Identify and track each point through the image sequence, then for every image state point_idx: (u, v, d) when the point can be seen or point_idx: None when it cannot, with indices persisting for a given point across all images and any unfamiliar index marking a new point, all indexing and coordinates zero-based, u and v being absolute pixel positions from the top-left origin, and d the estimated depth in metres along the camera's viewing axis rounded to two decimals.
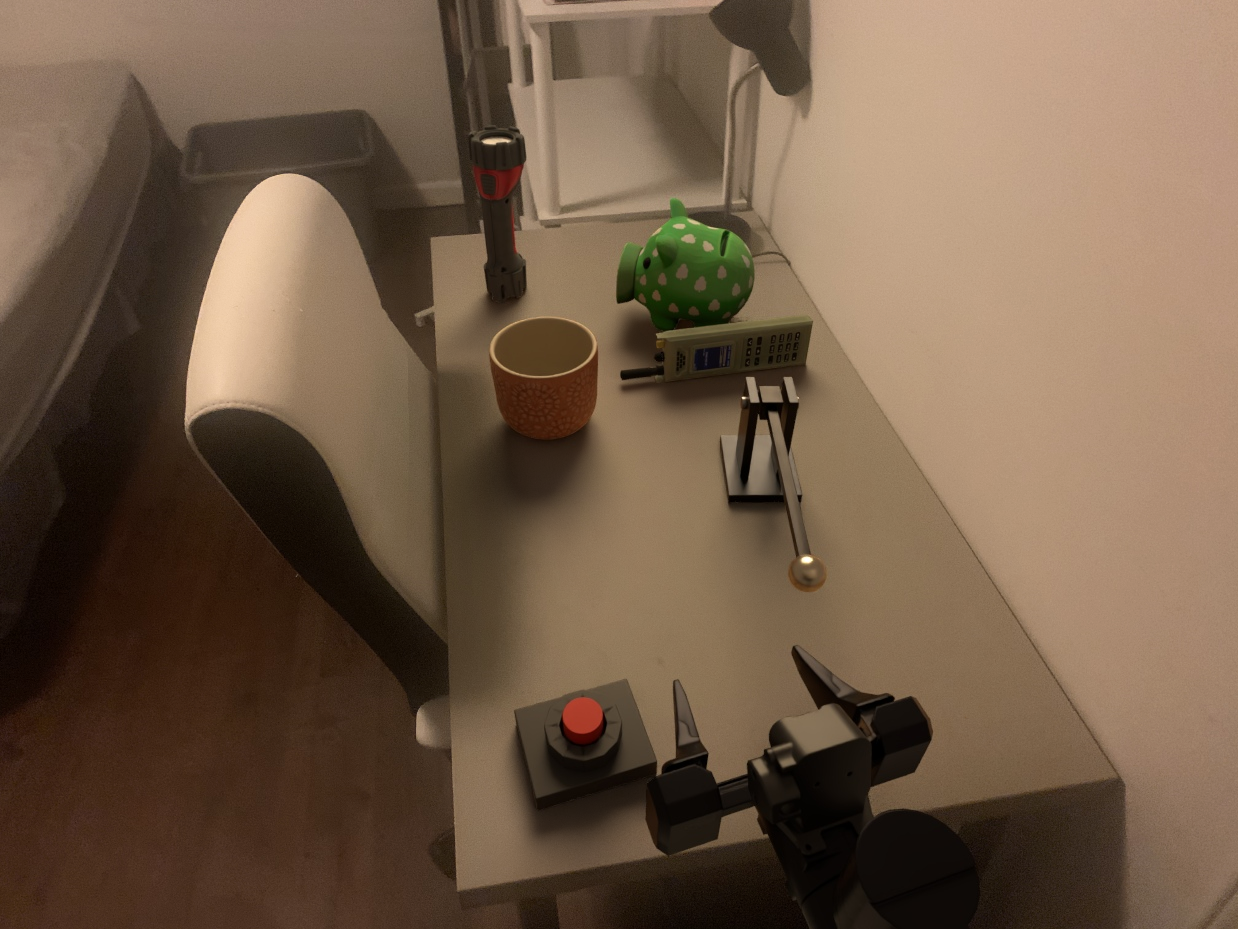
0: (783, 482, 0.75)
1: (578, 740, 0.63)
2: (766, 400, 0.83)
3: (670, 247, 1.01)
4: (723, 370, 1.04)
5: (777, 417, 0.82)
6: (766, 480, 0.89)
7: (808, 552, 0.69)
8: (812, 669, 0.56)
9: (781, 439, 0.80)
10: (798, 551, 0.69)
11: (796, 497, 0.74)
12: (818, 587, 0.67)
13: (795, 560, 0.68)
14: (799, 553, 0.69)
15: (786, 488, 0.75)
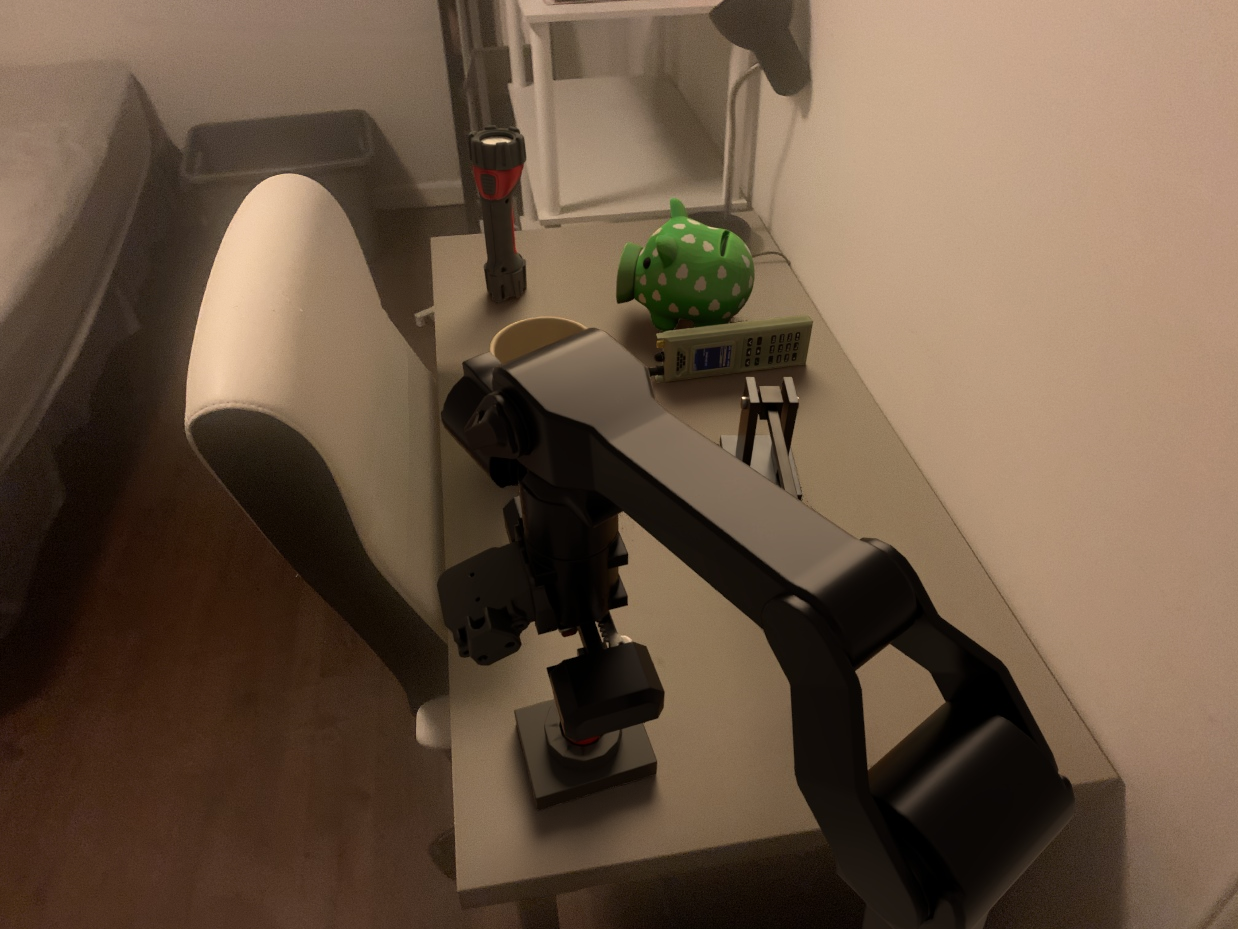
0: (783, 482, 0.75)
1: None
2: (766, 400, 0.83)
3: (670, 247, 1.01)
4: (723, 370, 1.04)
5: (777, 417, 0.82)
6: None
7: None
8: None
9: (781, 439, 0.80)
10: None
11: (796, 497, 0.74)
12: None
13: None
14: None
15: (786, 488, 0.75)
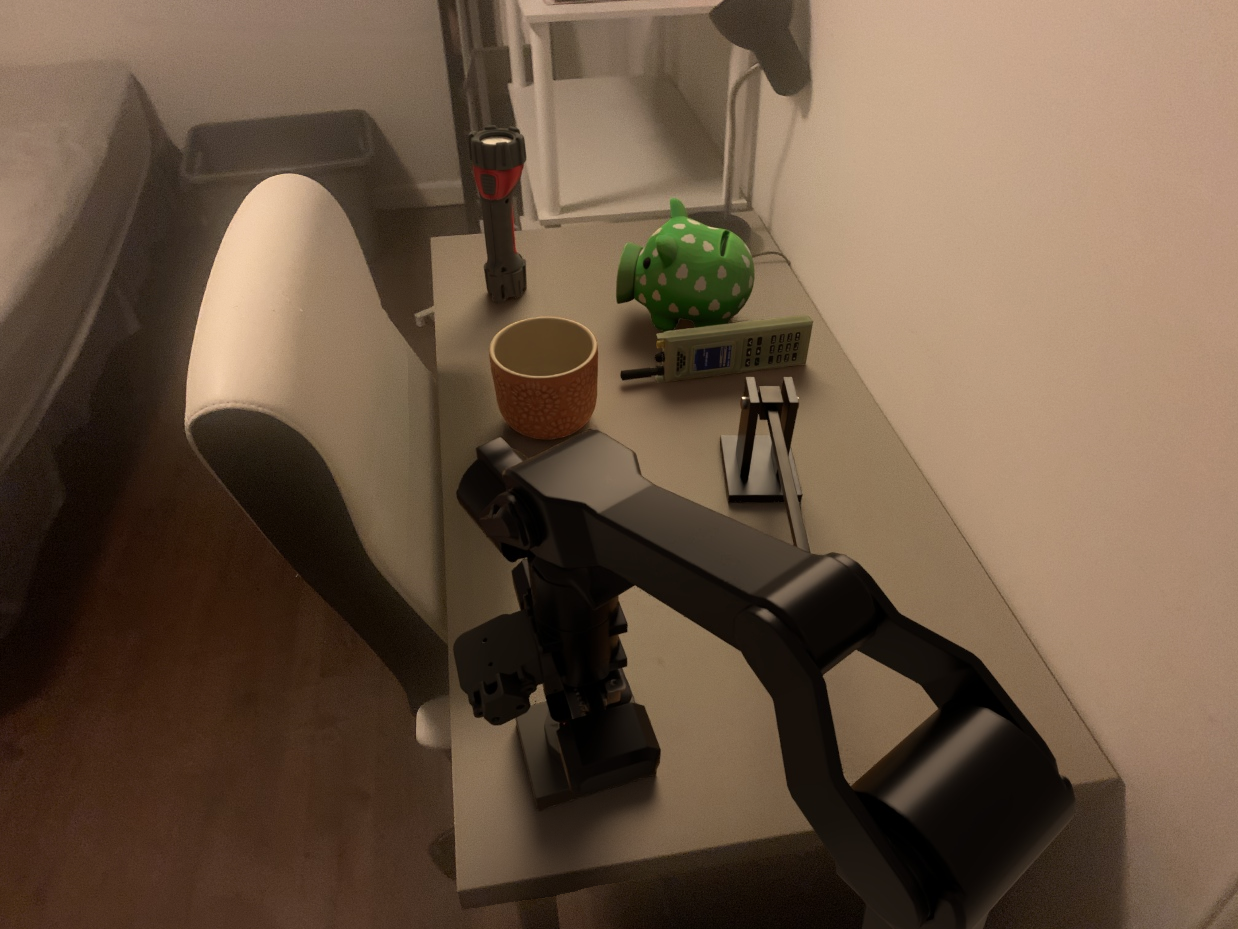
0: (783, 482, 0.75)
1: None
2: (766, 400, 0.83)
3: (670, 247, 1.01)
4: (723, 370, 1.04)
5: (777, 417, 0.82)
6: (766, 480, 0.89)
7: None
8: None
9: (781, 439, 0.80)
10: None
11: (796, 497, 0.74)
12: None
13: None
14: None
15: (786, 488, 0.75)
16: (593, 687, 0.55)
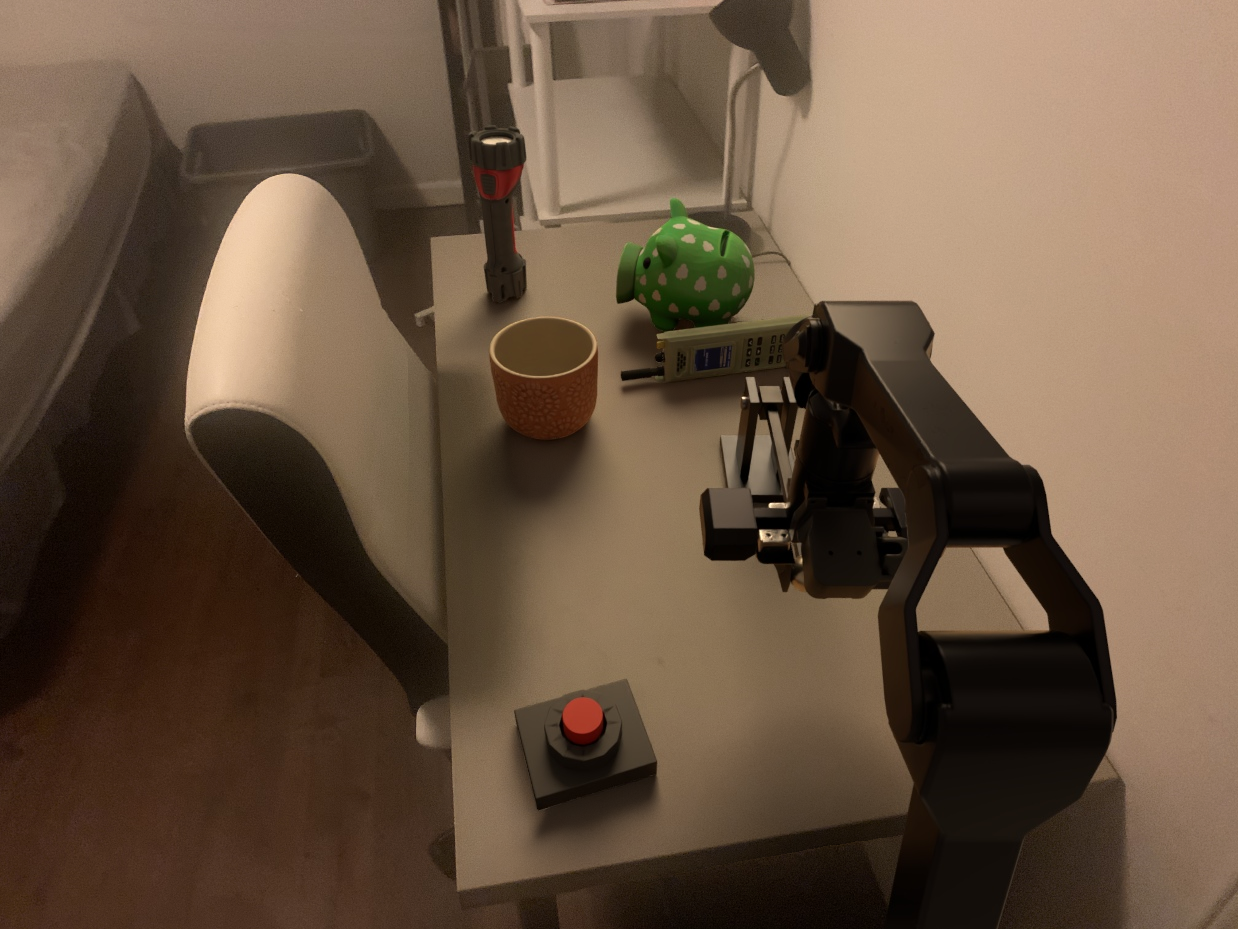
0: (783, 482, 0.75)
1: (578, 740, 0.63)
2: (766, 400, 0.83)
3: (670, 247, 1.01)
4: (724, 370, 1.04)
5: (777, 417, 0.82)
6: (766, 480, 0.89)
7: None
8: (789, 578, 0.67)
9: (781, 439, 0.80)
10: (798, 551, 0.69)
11: None
12: None
13: (795, 560, 0.68)
14: (799, 553, 0.69)
15: None
16: None
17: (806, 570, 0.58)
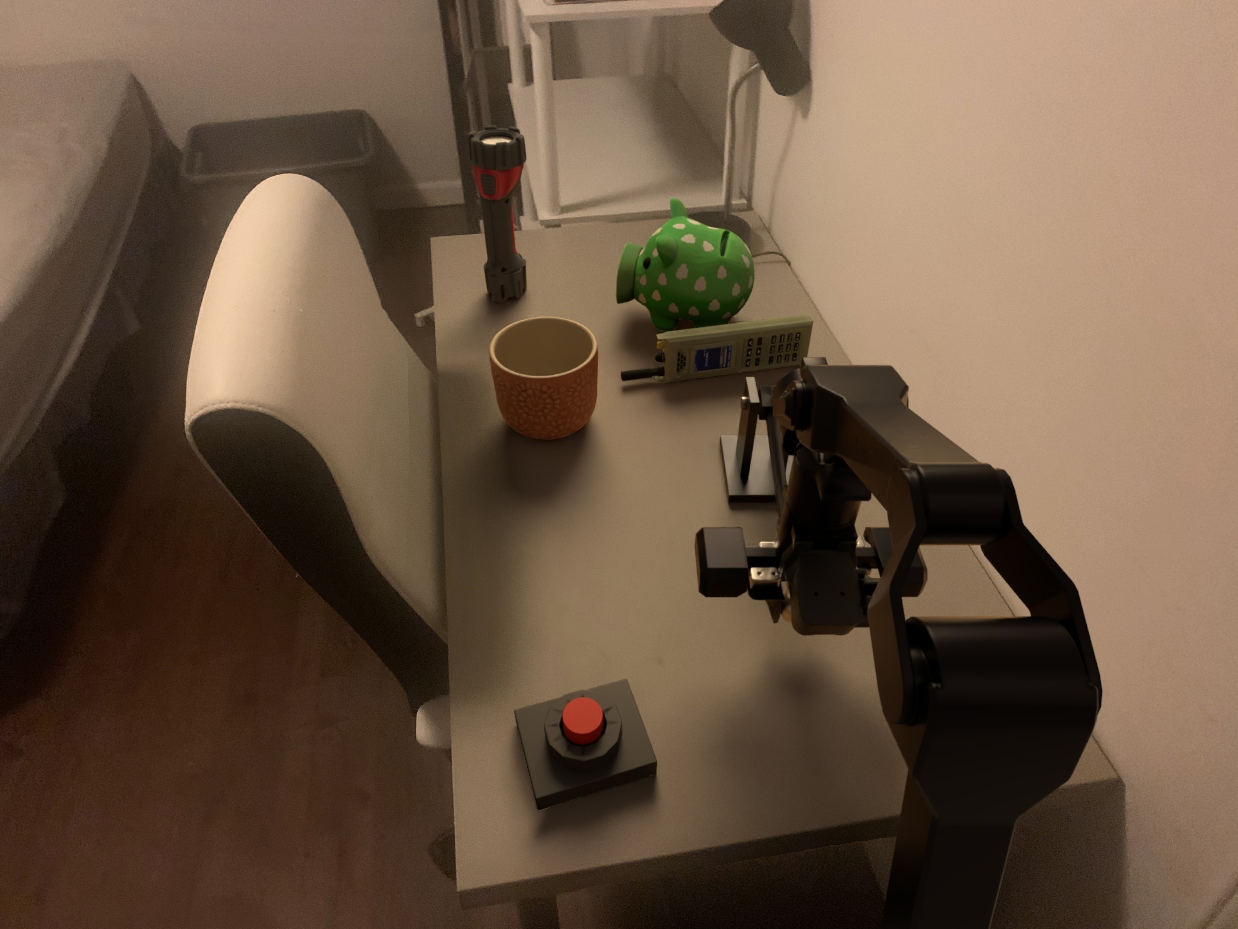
0: (778, 502, 0.78)
1: (578, 740, 0.63)
2: (766, 404, 0.83)
3: (670, 247, 1.01)
4: (724, 370, 1.04)
5: (776, 423, 0.83)
6: (766, 480, 0.89)
7: None
8: (779, 611, 0.71)
9: (779, 450, 0.81)
10: None
11: None
12: None
13: (785, 595, 0.72)
14: None
15: (781, 509, 0.77)
16: None
17: (793, 609, 0.62)
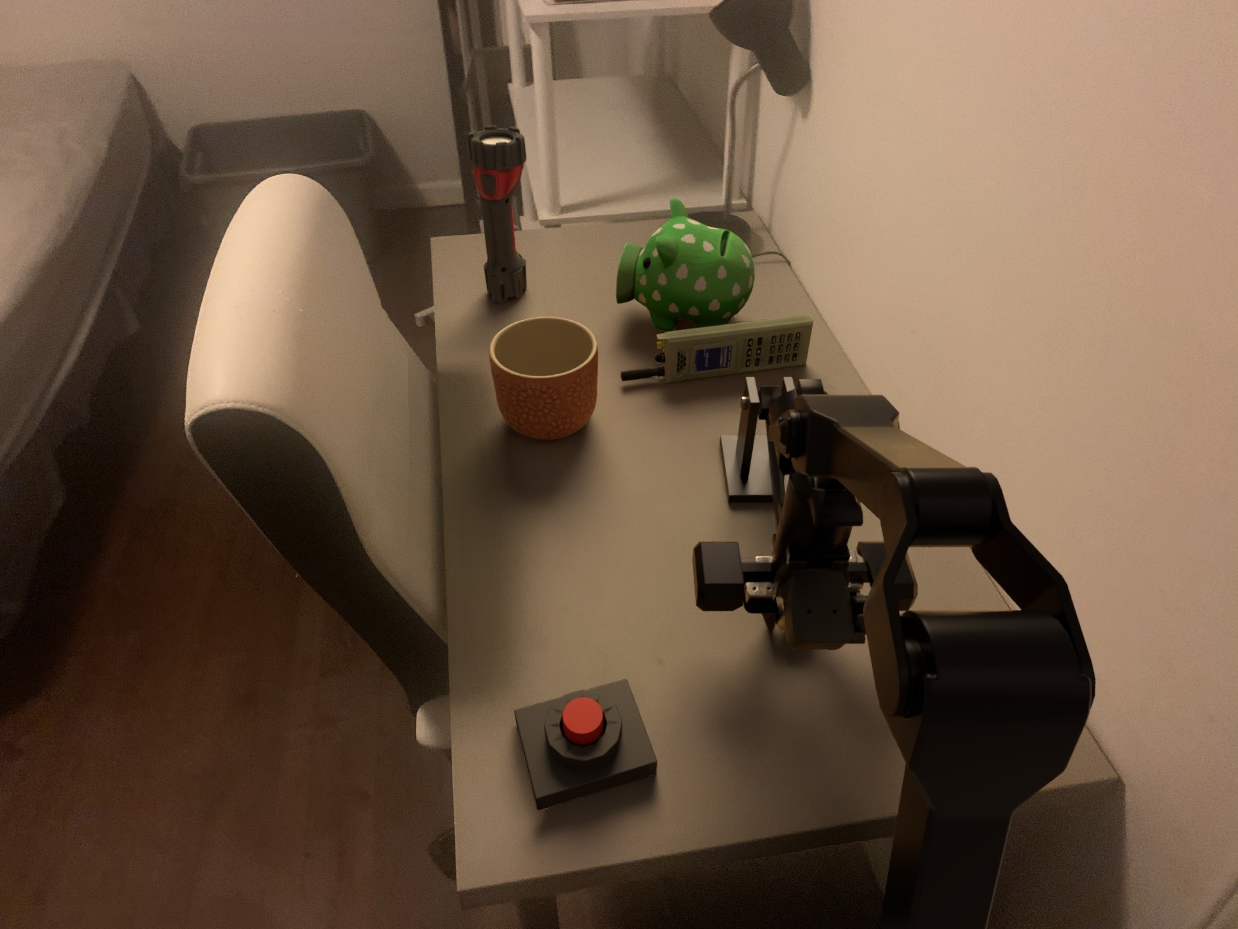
0: (776, 509, 0.79)
1: (578, 740, 0.63)
2: (766, 406, 0.83)
3: (670, 247, 1.01)
4: (724, 371, 1.04)
5: None
6: (766, 480, 0.89)
7: None
8: (774, 622, 0.73)
9: None
10: None
11: None
12: None
13: (781, 606, 0.74)
14: None
15: (778, 517, 0.78)
16: None
17: (787, 625, 0.64)
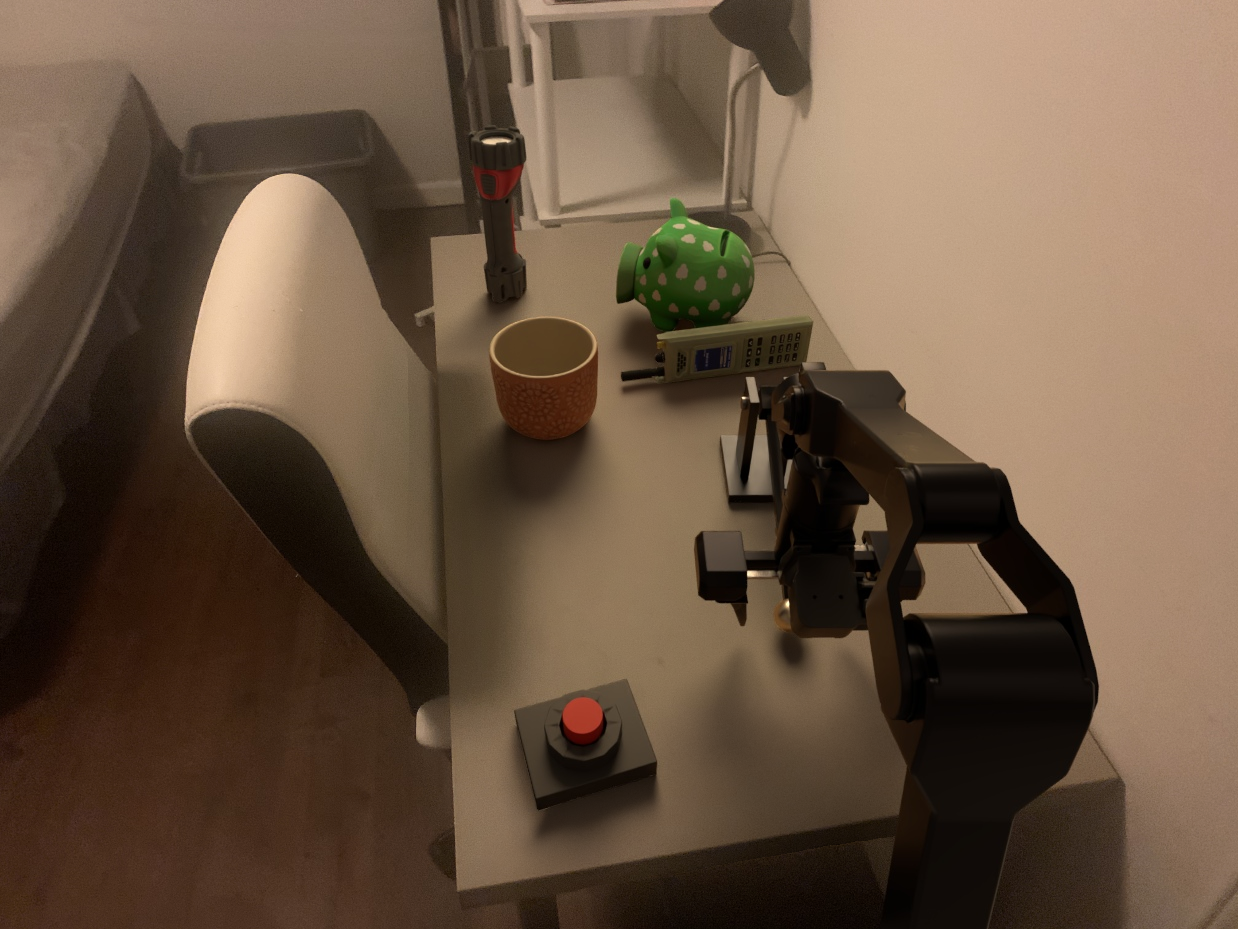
0: (776, 509, 0.79)
1: (578, 740, 0.63)
2: (766, 406, 0.83)
3: (670, 247, 1.01)
4: (724, 371, 1.04)
5: (775, 425, 0.83)
6: (766, 480, 0.89)
7: None
8: (746, 614, 0.72)
9: (778, 454, 0.81)
10: (784, 593, 0.75)
11: None
12: None
13: (781, 606, 0.74)
14: (785, 595, 0.75)
15: (778, 517, 0.78)
16: None
17: (792, 612, 0.63)
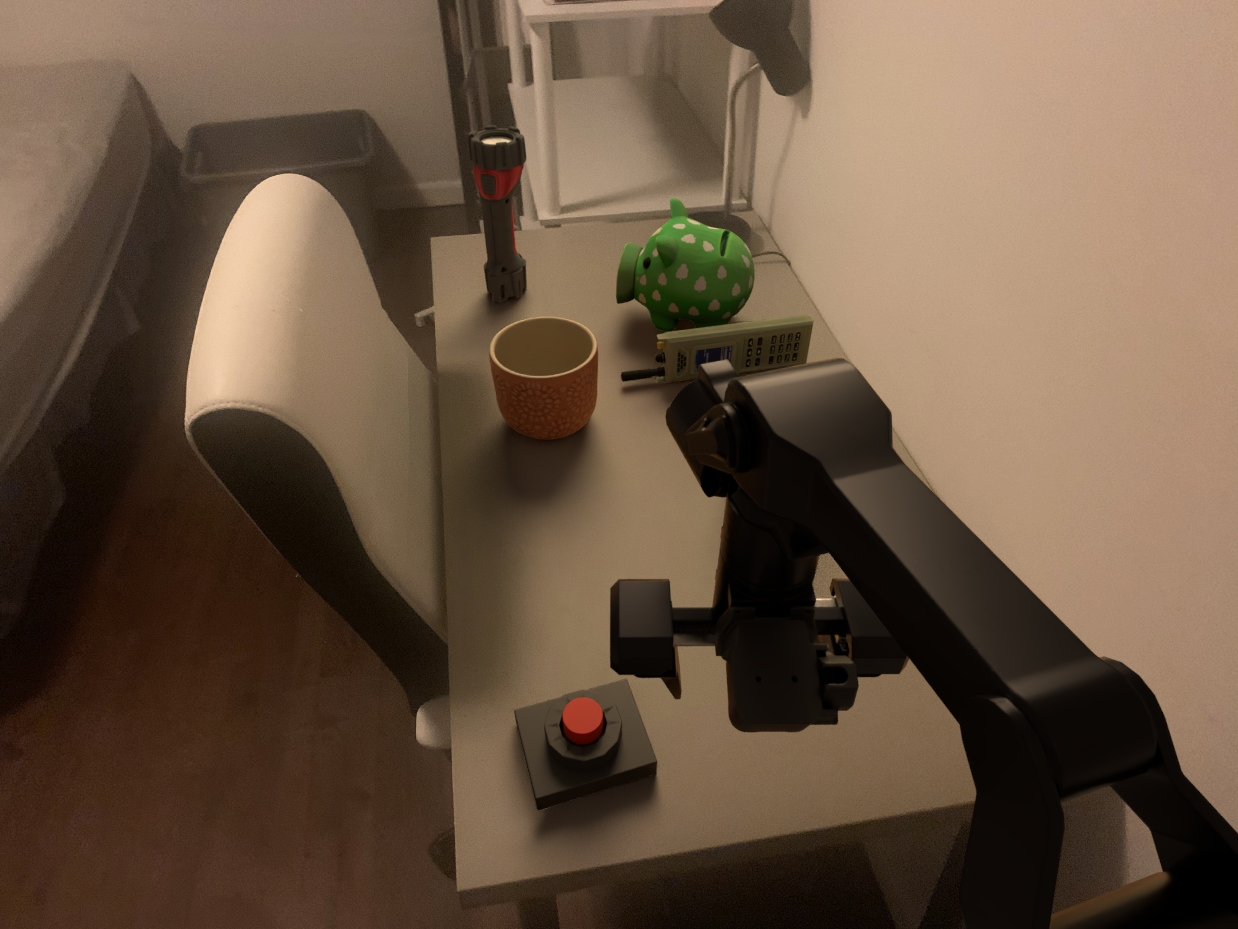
0: None
1: (578, 740, 0.63)
2: None
3: (670, 247, 1.01)
4: None
5: None
6: None
7: None
8: (679, 686, 0.55)
9: None
10: None
11: None
12: None
13: None
14: None
15: None
16: None
17: (730, 697, 0.46)
